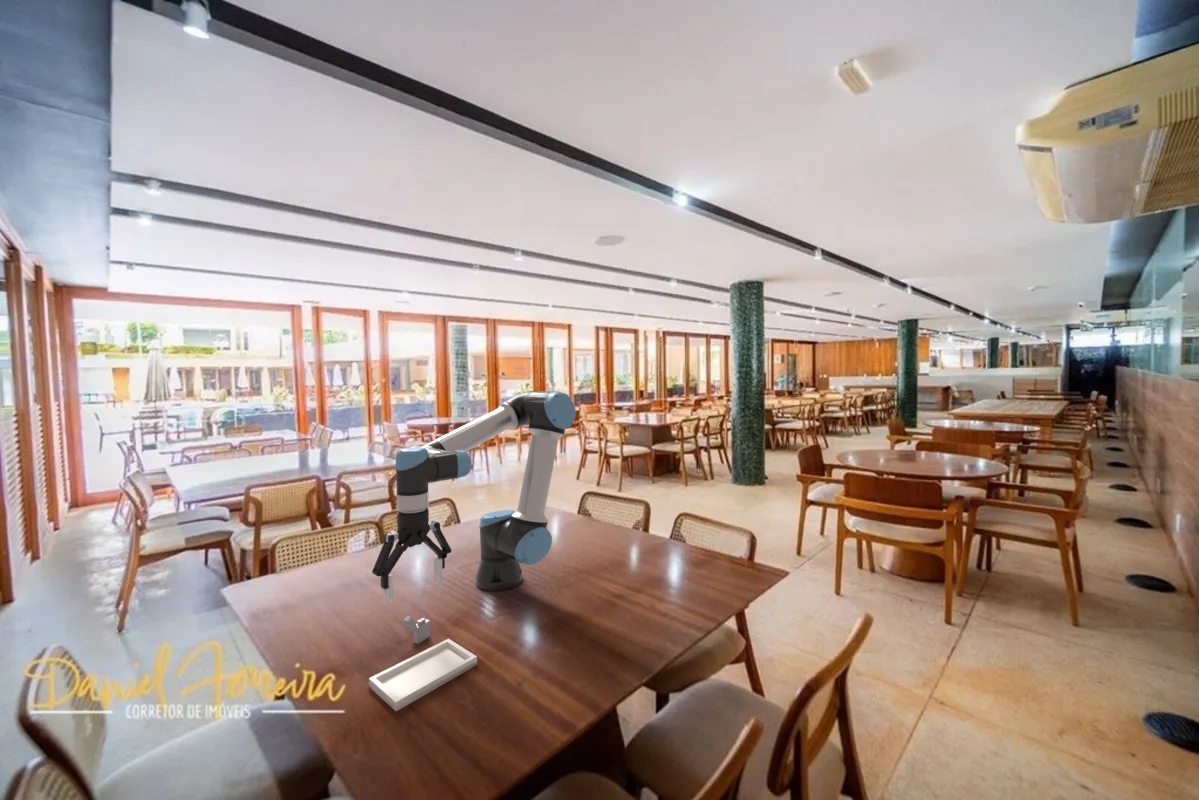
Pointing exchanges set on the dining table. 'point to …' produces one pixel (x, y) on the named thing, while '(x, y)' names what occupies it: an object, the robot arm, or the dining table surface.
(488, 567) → the robot arm
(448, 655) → the tray
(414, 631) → the lighter
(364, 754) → the dining table surface
